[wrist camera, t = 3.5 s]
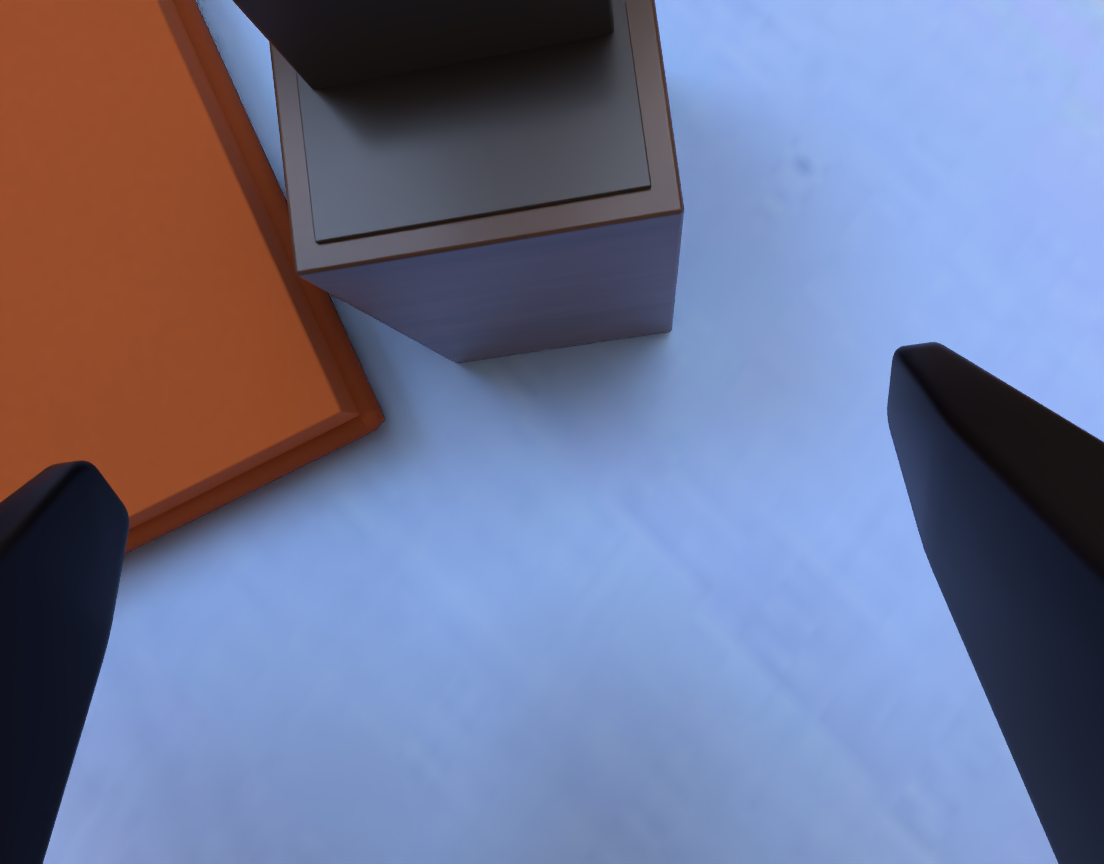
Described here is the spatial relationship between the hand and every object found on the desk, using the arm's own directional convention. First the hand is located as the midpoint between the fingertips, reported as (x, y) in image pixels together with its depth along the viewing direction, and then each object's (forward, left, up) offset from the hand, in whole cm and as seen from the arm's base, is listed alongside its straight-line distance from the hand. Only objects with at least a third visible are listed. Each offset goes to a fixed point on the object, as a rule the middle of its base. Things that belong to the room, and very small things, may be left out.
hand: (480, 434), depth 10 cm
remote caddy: (+6, -2, -12) cm, 14 cm away
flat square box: (+11, +12, -12) cm, 21 cm away
